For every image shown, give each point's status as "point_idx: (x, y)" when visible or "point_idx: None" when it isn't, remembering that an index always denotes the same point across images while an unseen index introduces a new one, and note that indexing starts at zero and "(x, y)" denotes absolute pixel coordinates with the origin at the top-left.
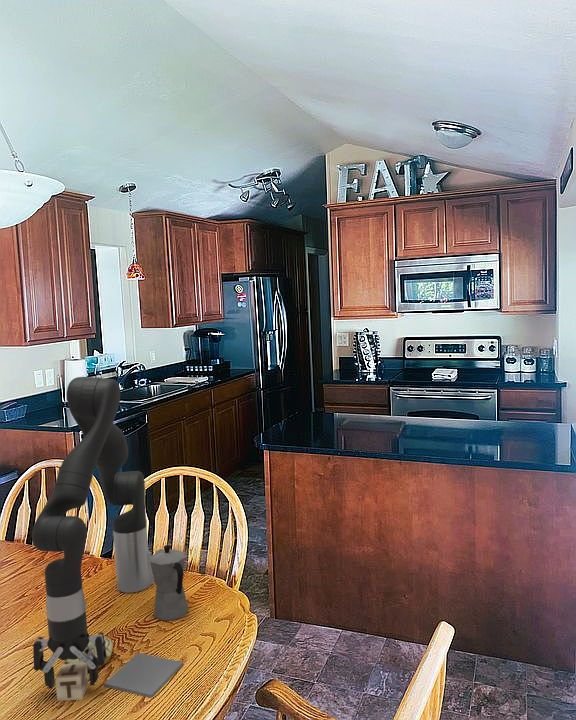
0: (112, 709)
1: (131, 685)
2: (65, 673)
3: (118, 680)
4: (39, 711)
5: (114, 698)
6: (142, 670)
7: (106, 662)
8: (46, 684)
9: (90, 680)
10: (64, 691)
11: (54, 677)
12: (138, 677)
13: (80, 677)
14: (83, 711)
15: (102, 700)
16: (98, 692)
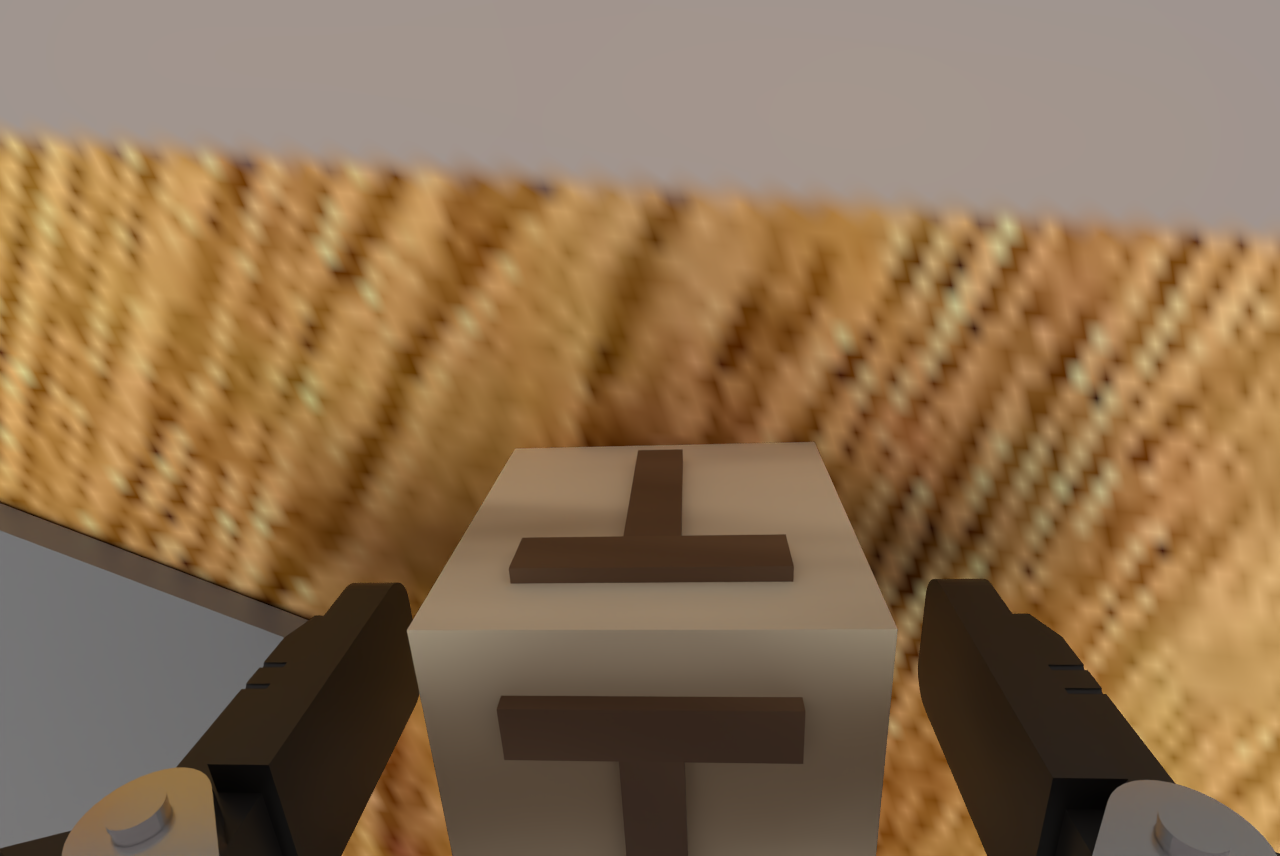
0: (45, 218)
1: (3, 589)
2: (728, 740)
3: (200, 685)
4: (1006, 259)
5: (134, 425)
6: (34, 797)
7: None
8: (1035, 632)
9: (351, 623)
10: (723, 499)
11: (943, 752)
12: (8, 704)
13: (417, 625)
14: (400, 208)
15: (258, 403)
16: (372, 545)
